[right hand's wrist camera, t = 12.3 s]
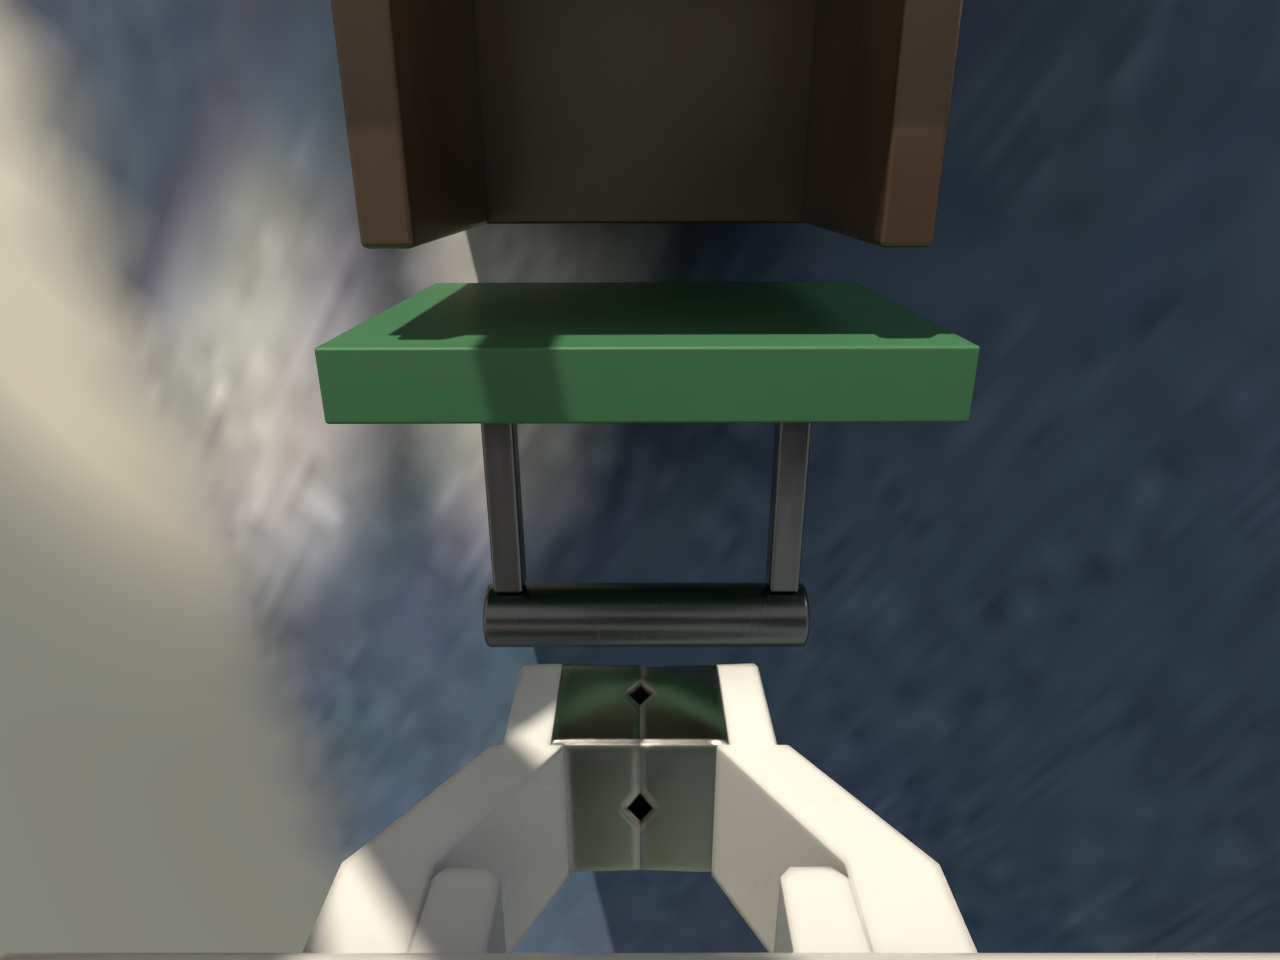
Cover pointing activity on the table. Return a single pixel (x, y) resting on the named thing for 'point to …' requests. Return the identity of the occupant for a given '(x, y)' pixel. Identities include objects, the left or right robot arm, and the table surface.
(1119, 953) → the right robot arm
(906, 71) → the drawer
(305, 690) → the table surface
